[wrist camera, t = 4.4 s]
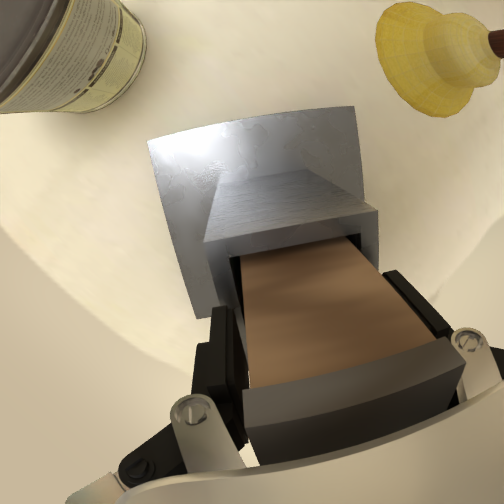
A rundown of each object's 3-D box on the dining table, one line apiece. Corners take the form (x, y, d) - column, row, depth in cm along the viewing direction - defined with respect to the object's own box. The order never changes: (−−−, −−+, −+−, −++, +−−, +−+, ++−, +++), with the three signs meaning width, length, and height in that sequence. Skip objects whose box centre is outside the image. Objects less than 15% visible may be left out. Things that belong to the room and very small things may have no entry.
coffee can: (39, 119, 20) (-79, 135, 7) (55, 17, 16) (-42, -23, 3) (139, 112, 21) (37, 102, 8) (157, 1, 17) (96, -91, 4)
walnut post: (296, 184, 22) (466, 362, 5) (304, 242, 24) (419, 458, 7) (234, 195, 22) (244, 428, 5) (245, 253, 24) (275, 499, 7)
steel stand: (347, 106, 22) (493, 98, 7) (360, 278, 28) (447, 400, 13) (152, 140, 22) (29, 167, 7) (197, 310, 28) (178, 461, 13)
